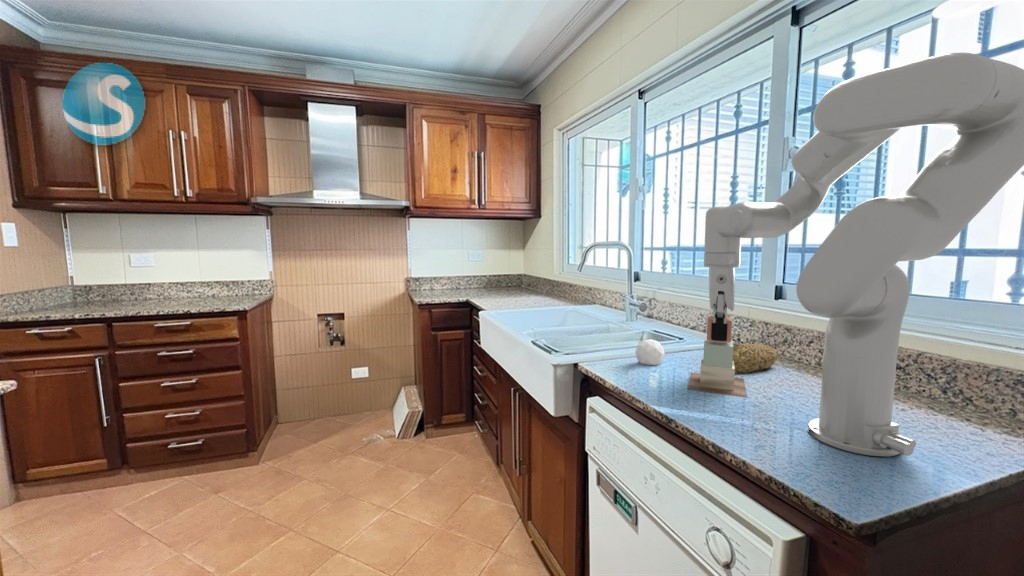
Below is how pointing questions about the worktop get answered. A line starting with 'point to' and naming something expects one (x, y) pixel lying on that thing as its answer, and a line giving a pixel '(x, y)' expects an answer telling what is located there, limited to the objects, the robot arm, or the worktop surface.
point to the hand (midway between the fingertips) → (718, 337)
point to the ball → (649, 352)
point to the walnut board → (738, 388)
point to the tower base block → (717, 377)
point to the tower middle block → (718, 354)
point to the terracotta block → (710, 321)
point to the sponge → (753, 357)
